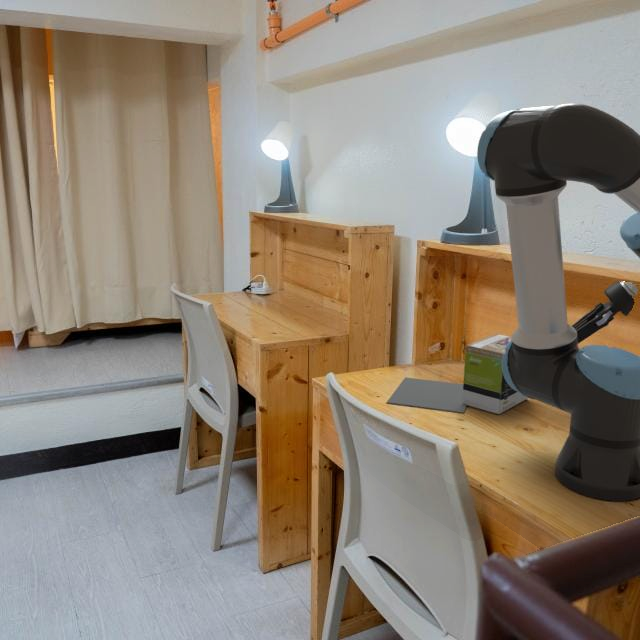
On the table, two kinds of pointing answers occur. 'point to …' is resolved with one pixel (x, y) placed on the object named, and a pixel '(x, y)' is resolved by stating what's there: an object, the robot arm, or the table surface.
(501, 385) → the tea box
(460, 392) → the desk pad
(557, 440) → the table surface
